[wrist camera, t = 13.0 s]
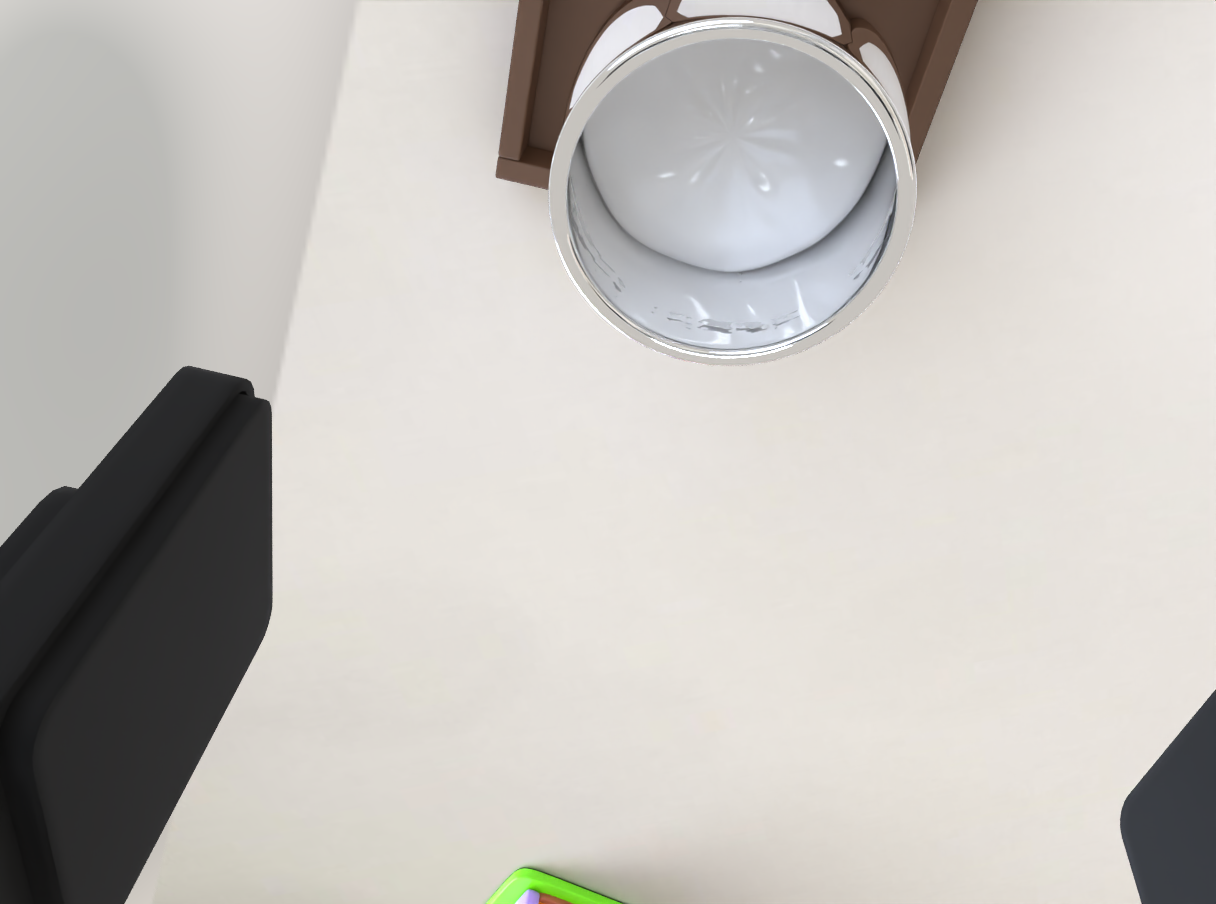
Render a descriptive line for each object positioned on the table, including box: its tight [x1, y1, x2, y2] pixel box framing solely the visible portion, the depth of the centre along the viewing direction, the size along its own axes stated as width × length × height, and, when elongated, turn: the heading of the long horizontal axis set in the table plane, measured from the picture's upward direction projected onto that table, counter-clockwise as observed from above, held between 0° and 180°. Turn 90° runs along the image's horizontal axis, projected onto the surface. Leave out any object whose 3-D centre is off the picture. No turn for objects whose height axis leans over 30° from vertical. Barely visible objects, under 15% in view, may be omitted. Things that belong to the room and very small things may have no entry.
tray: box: [496, 0, 978, 190], centre depth 31 cm, size 12×12×2 cm
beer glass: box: [549, 0, 917, 366], centre depth 25 cm, size 7×7×15 cm
